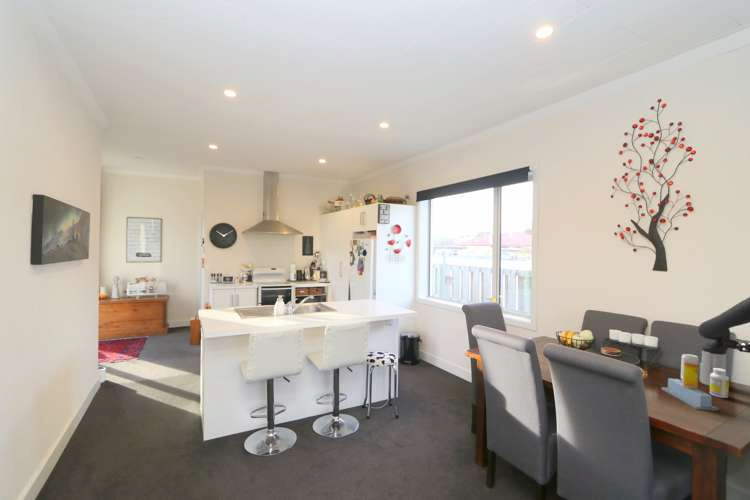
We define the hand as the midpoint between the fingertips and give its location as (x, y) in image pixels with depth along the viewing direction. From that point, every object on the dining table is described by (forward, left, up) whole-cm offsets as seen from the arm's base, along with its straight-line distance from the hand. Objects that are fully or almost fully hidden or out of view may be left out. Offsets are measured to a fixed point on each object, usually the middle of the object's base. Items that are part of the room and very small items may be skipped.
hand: (723, 342), depth 161 cm
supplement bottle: (-13, +10, -29) cm, 34 cm away
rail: (-6, -9, -29) cm, 31 cm away
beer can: (-6, -9, -23) cm, 26 cm away
